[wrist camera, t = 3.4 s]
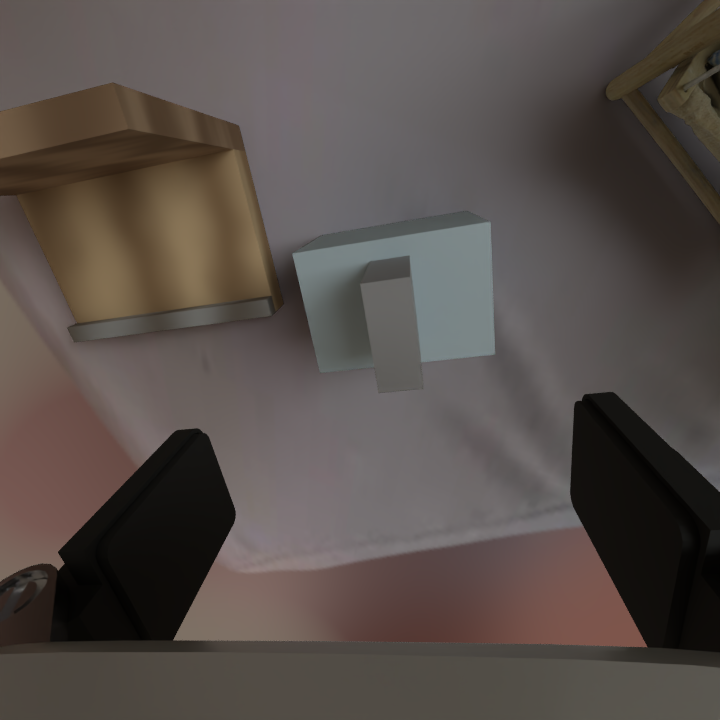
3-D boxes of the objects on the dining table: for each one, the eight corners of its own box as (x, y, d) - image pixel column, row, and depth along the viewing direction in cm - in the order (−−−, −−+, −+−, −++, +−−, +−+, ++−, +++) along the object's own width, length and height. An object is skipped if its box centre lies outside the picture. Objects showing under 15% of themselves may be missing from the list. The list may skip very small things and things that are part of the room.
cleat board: (238, 125, 25) (112, 82, 14) (283, 304, 30) (213, 372, 19) (30, 171, 28) (-209, 164, 17) (101, 329, 33) (-51, 402, 22)
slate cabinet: (467, 210, 26) (517, 233, 14) (472, 311, 29) (518, 400, 17) (322, 234, 28) (259, 273, 16) (340, 327, 30) (298, 419, 19)
